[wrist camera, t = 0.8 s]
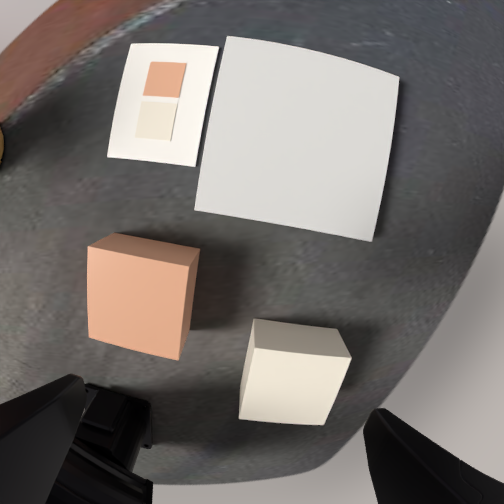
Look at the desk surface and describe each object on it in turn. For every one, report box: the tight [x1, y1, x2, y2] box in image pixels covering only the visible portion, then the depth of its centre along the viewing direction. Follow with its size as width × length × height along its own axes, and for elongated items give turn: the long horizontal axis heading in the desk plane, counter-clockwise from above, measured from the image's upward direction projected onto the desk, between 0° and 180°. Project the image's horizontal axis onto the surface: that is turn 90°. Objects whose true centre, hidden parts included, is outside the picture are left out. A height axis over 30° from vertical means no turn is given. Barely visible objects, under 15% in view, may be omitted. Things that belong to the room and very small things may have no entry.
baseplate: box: [194, 36, 399, 242], centre depth 17 cm, size 11×11×1 cm
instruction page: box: [107, 43, 219, 167], centre depth 17 cm, size 8×6×1 cm
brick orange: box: [87, 233, 200, 360], centre depth 19 cm, size 6×6×4 cm
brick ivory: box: [239, 318, 351, 425], centre depth 20 cm, size 6×6×4 cm
